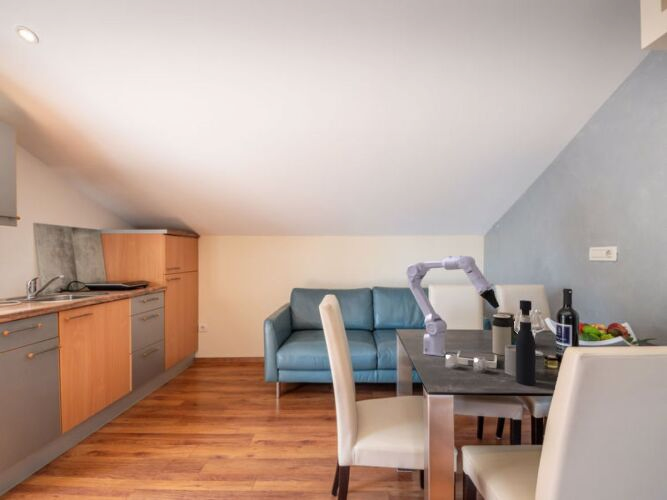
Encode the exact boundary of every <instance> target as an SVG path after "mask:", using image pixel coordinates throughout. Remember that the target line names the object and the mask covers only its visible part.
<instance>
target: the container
mask: <svg viewBox="0 0 667 500" xmlns="http://www.w3.org/2000/svg"><path fill="white" fill-rule="evenodd" d="M497 314H502V315H509V316H510V322H511V345H516V339H517V335H518V334H517V333H516V332H515V331H514V321H515V318H516V317H515V313H513V312H505V311H504V312H503V311H502V312H498V313H497Z"/></svg>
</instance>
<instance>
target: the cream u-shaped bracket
mask: <svg viewBox="0 0 667 500" xmlns="http://www.w3.org/2000/svg"><path fill="white" fill-rule="evenodd" d="M456 355H458V364H459V365H464V366H465V365H466V366H467V365H468V366H473V367H474V357H483V358H486V368H488V369H497V361H498V360H497V359H498V354H495V353H487V352H486V353H485V352H478V351H467V350H458V351H457V353H456Z"/></svg>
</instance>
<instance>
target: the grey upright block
mask: <svg viewBox="0 0 667 500" xmlns="http://www.w3.org/2000/svg"><path fill="white" fill-rule="evenodd" d="M504 373H505V374H507V375H509V376H512V377H515V378H516V345H507V346H505V355H504Z"/></svg>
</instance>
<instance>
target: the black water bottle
mask: <svg viewBox="0 0 667 500" xmlns="http://www.w3.org/2000/svg"><path fill="white" fill-rule="evenodd" d="M532 302H533V301H532V300H526V299H525V300H524V299H522V300H519V310H520V311H521V316H520V321H519V332H518V335H517V339H516V377H515V382H516V383H517V384H519V385H523V386H527V387H528V386H530V387H531V386H535V385H536V382H537V380H536V379H537V377H536V375H537V374H536V365H537V363H536V360H537V358H536V356H537V355H536V348H537V347H536V341H535V337H534V336H535V335H534V334H533V331H532V320H531V319H532V318H531V316H530V311H532V310H533V309H532V307H533V305H532Z"/></svg>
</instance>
